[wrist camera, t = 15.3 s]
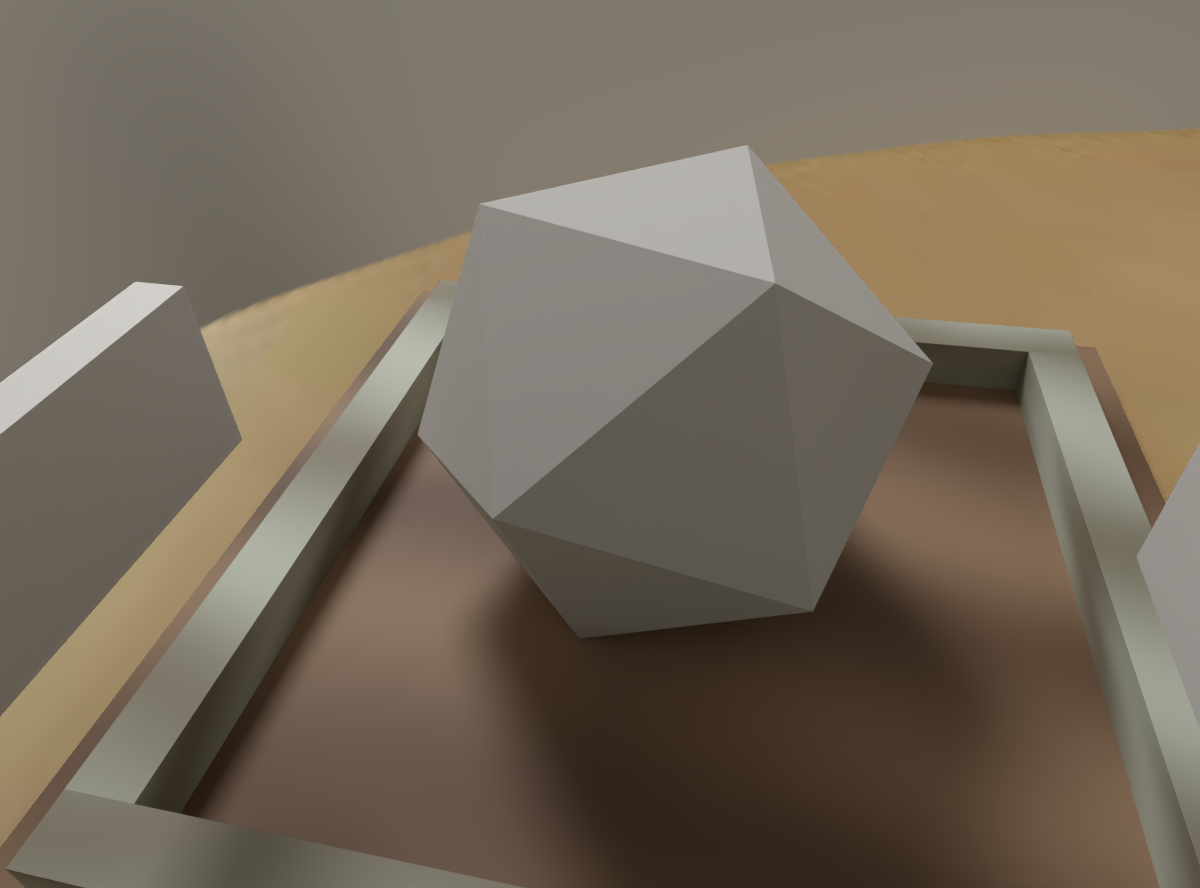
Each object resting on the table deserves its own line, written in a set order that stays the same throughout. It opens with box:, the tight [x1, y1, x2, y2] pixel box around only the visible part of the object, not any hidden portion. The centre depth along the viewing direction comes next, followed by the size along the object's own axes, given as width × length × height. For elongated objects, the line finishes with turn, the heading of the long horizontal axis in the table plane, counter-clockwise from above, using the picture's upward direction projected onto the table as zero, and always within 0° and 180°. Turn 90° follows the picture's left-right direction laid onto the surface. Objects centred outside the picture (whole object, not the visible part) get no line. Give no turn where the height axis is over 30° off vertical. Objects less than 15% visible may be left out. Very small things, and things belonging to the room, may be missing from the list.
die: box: [418, 145, 933, 639], centre depth 15 cm, size 8×9×10 cm
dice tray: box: [0, 280, 1200, 888], centre depth 17 cm, size 20×20×2 cm
